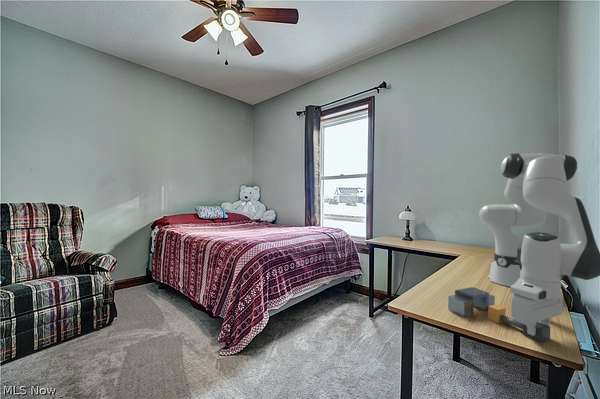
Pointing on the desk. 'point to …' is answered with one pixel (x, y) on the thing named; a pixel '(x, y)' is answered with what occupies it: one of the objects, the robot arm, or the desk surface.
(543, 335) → the plug
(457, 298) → the block
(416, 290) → the desk surface
